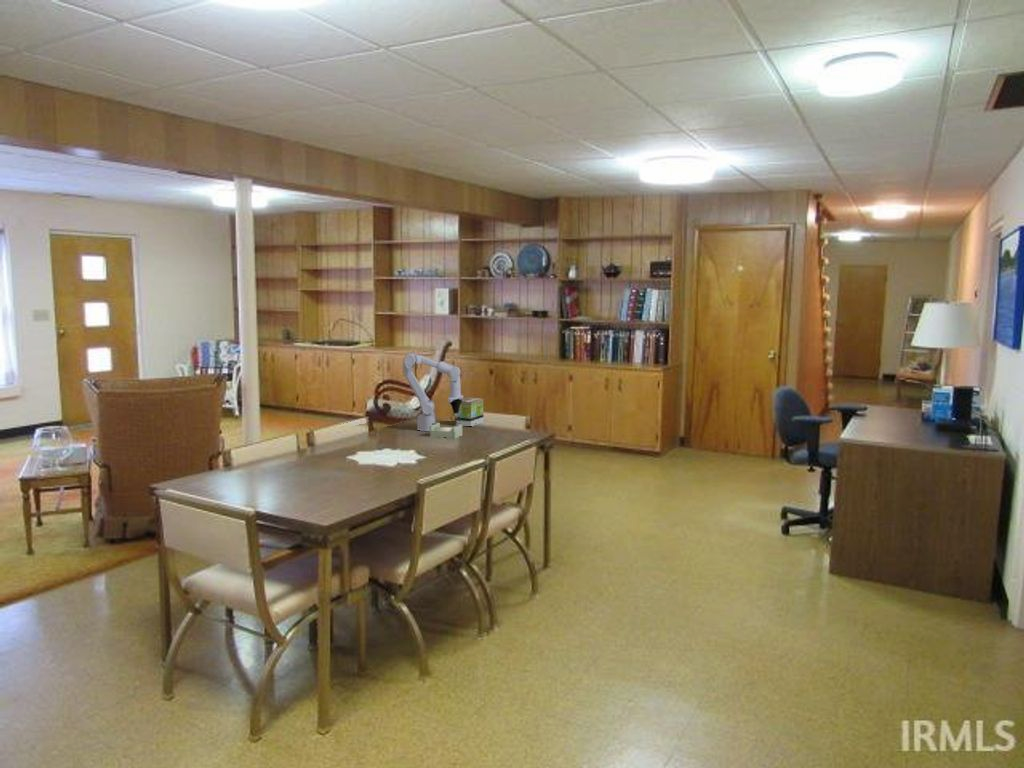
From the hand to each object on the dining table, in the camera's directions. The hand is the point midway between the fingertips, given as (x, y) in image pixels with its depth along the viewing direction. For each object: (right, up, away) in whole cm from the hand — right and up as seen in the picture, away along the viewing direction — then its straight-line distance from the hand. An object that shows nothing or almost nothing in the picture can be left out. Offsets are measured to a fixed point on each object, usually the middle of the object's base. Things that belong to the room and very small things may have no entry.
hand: (455, 413), depth 400 cm
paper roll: (-4, -9, -16) cm, 19 cm away
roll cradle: (-4, -12, -15) cm, 20 cm away
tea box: (+7, -8, +17) cm, 20 cm away
